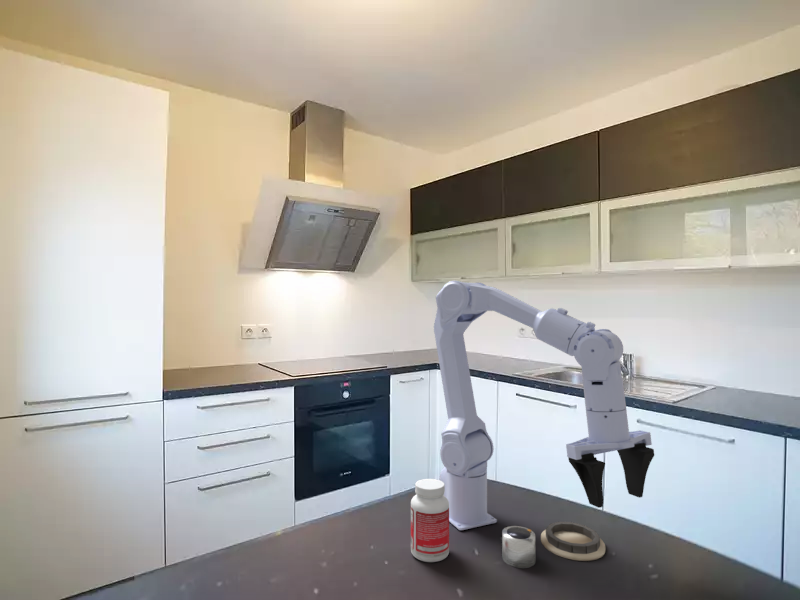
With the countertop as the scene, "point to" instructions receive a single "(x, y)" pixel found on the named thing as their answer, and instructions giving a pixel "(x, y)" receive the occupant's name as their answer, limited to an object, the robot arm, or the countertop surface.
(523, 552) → the lens
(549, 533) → the mount
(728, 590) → the countertop surface
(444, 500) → the pill bottle
